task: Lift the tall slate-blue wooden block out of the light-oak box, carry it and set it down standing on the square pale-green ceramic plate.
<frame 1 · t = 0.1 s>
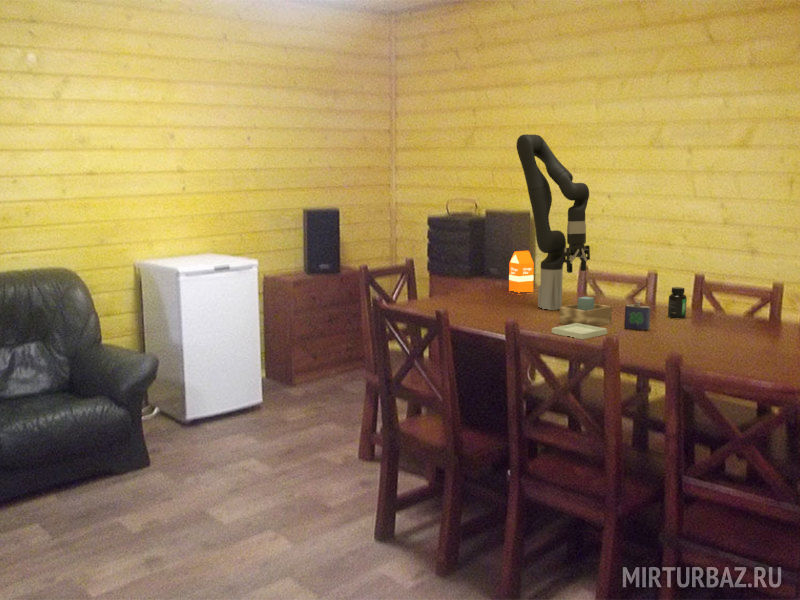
hand: (576, 271, 335), 17 cm above the table, tool pointing down, fingers open, 8 cm apart
supplement bottle: (676, 318, 327), on the table
orange juice: (520, 292, 391), on the table
plate: (579, 333, 298), on the table
block: (585, 318, 316), point 2 cm above the table, touching crate
flask: (636, 330, 304), on the table
crate: (585, 323, 317), on the table
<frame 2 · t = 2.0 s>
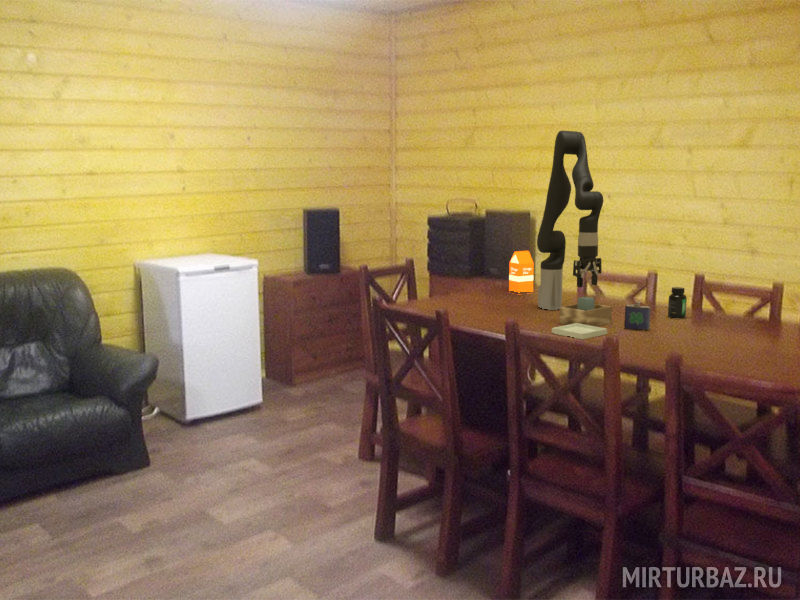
hand: (587, 286, 314), 15 cm above the table, tool pointing down, fingers open, 8 cm apart
nothing on the table moved.
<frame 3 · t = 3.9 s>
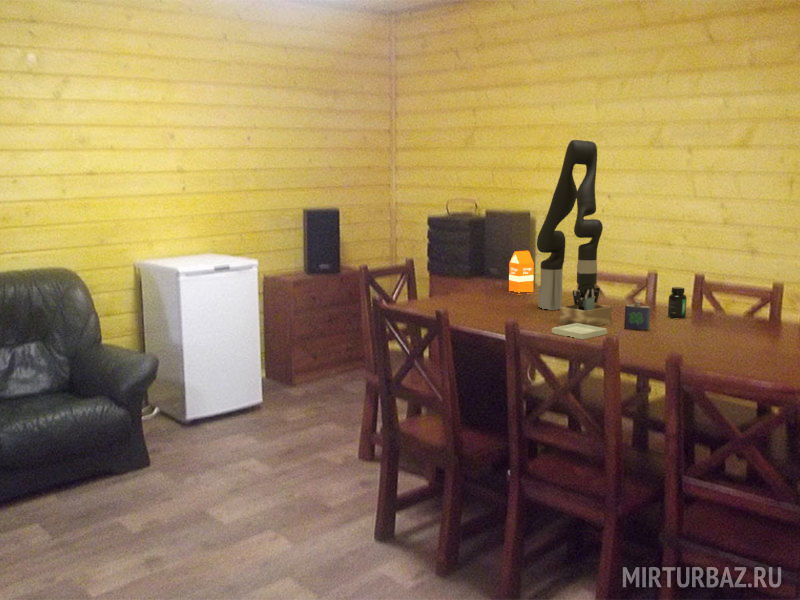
hand: (585, 314, 316), 3 cm above the table, tool pointing down, fingers closed on block, 4 cm apart
block: (585, 318, 316), point 2 cm above the table, touching crate, gripper
everything else where it was.
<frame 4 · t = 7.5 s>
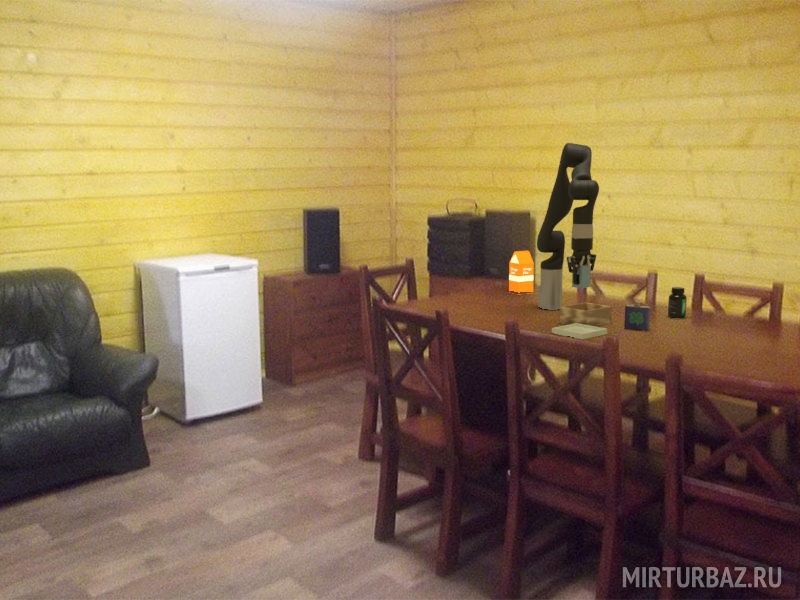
hand: (580, 283, 295), 19 cm above the table, tool pointing down, fingers closed on block, 4 cm apart
block: (580, 286, 295), point 17 cm above the table, touching gripper
everything else where it was.
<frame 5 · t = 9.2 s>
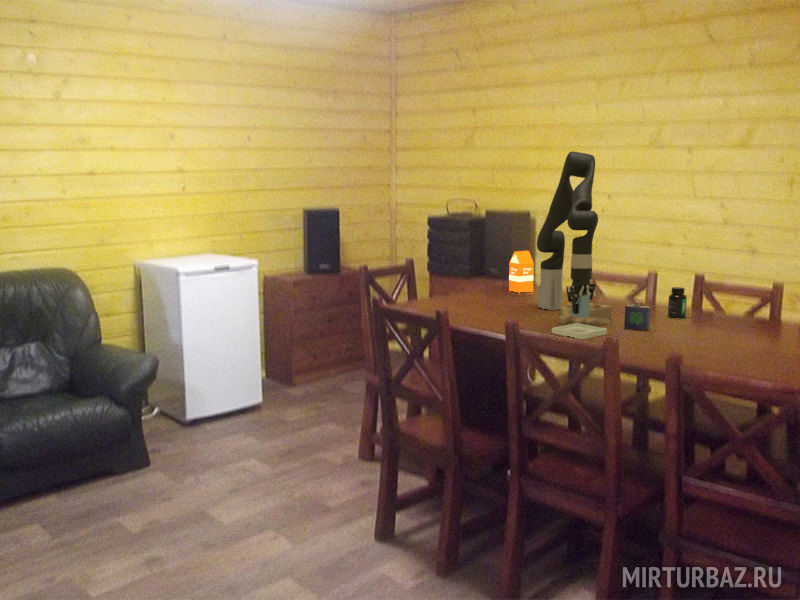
hand: (580, 312, 296), 8 cm above the table, tool pointing down, fingers closed on block, 4 cm apart
block: (580, 316, 297), point 7 cm above the table, touching gripper
everything else where it was.
when the fingers open (3 cm above the table, at t = 11.0 s): block stays where it is, resting on plate.
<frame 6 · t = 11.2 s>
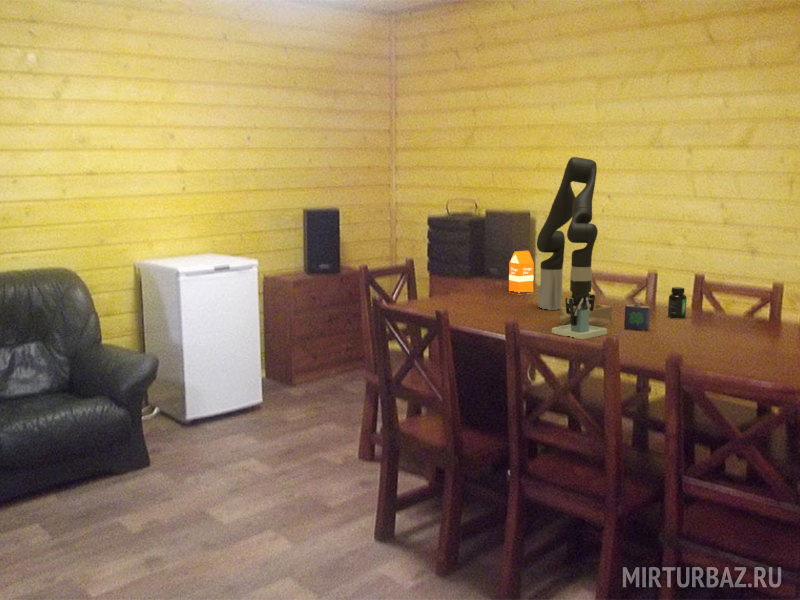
hand: (579, 324, 297), 4 cm above the table, tool pointing down, fingers open, 6 cm apart
block: (579, 331, 298), point 1 cm above the table, touching plate
everything else where it was.
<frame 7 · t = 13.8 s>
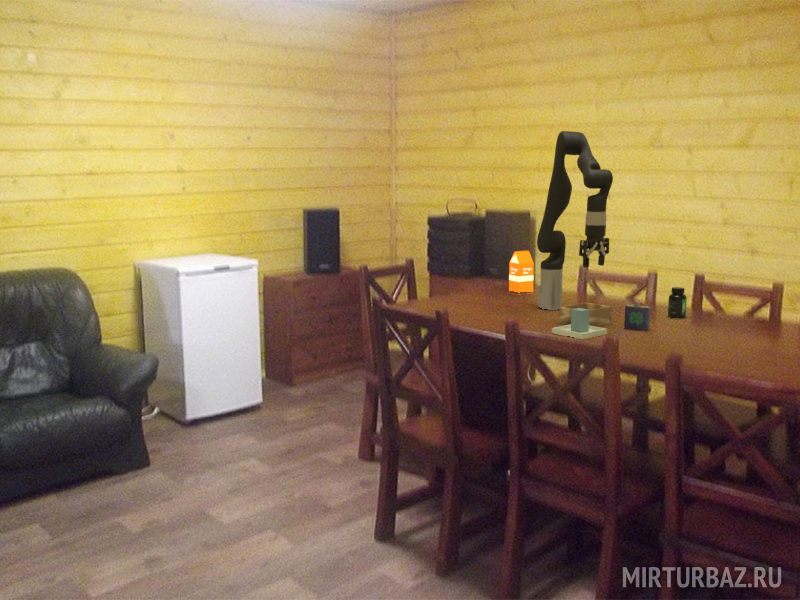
hand: (593, 266, 308), 23 cm above the table, tool pointing down, fingers open, 8 cm apart
nothing on the table moved.
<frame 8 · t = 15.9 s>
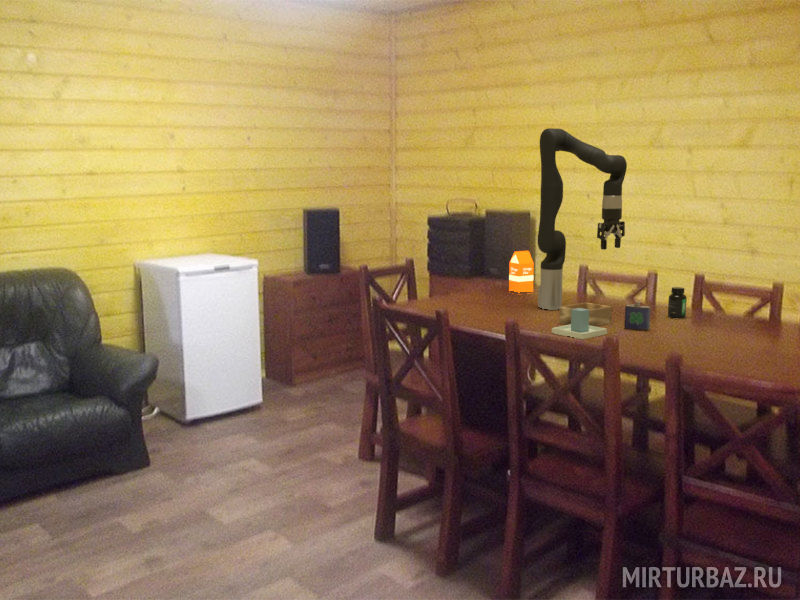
hand: (610, 248, 320), 28 cm above the table, tool pointing down, fingers open, 8 cm apart
nothing on the table moved.
at the end: block inside the target area on the plate (0.2 cm from its centre), point 1.0 cm above the plate's base; the gripper is holding nothing; block touching plate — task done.
